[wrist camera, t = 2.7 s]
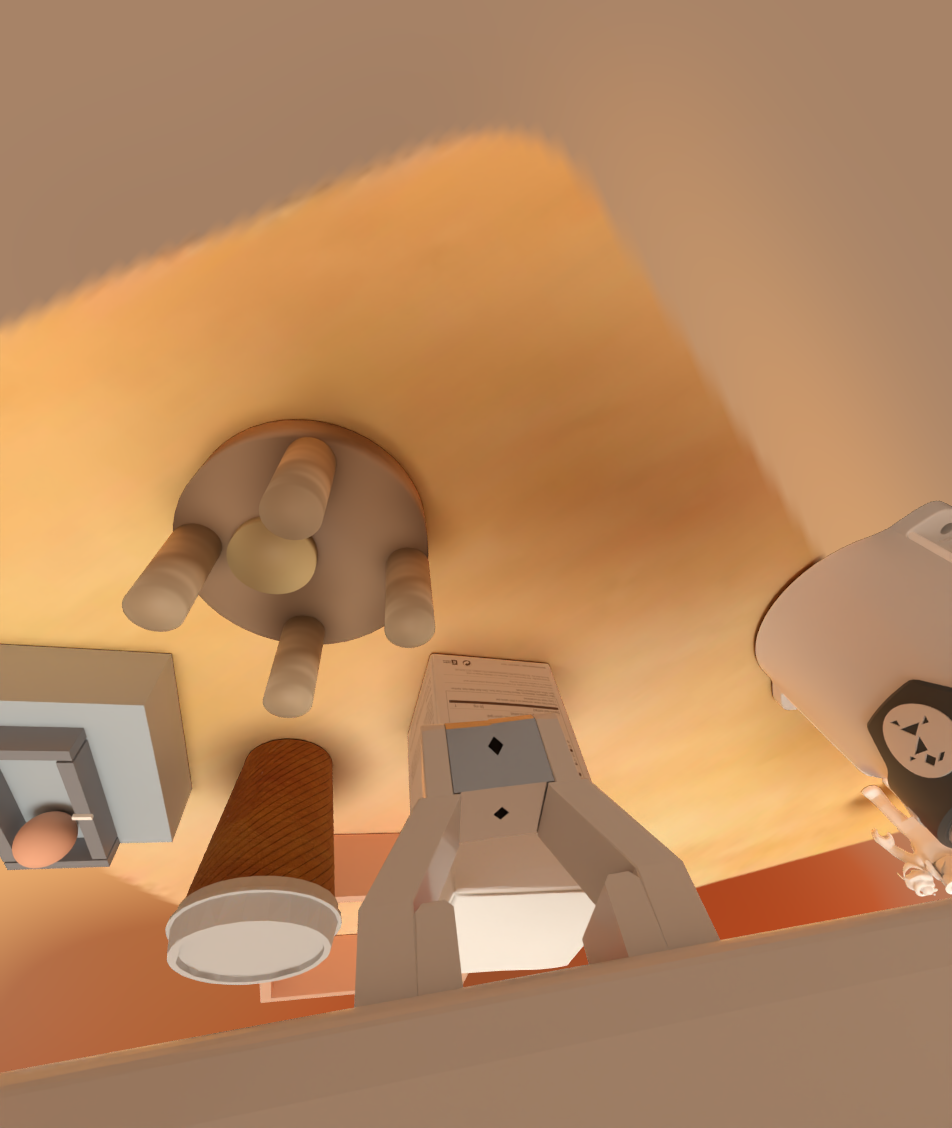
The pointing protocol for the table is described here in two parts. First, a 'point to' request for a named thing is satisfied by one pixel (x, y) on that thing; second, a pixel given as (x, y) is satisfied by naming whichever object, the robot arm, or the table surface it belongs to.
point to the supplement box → (513, 863)
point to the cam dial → (295, 550)
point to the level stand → (91, 748)
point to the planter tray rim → (337, 973)
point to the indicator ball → (45, 839)
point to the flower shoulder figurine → (913, 846)
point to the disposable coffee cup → (264, 875)
